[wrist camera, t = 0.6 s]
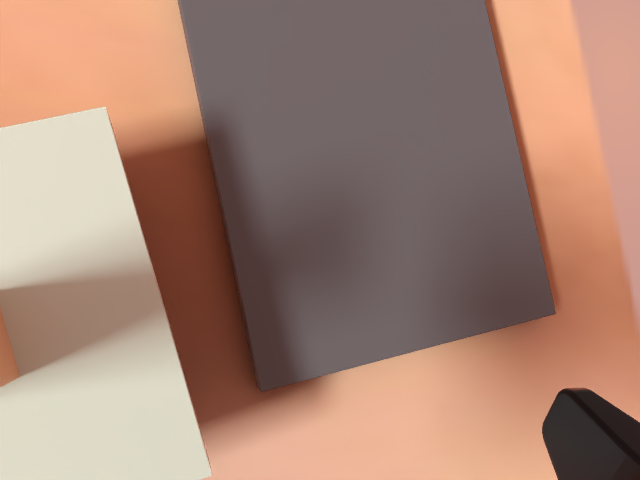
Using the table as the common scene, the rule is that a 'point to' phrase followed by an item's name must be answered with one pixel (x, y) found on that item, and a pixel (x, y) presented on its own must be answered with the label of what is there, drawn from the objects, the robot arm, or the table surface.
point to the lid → (84, 317)
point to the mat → (363, 178)
